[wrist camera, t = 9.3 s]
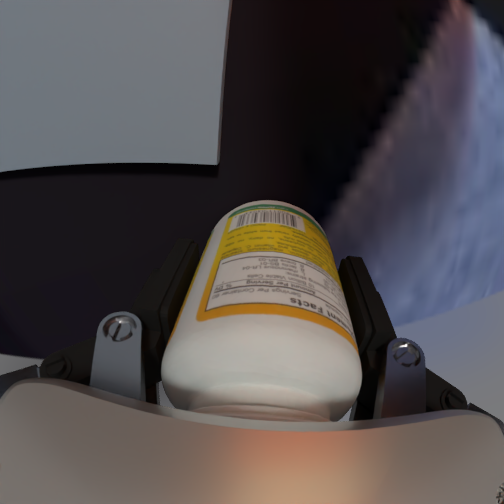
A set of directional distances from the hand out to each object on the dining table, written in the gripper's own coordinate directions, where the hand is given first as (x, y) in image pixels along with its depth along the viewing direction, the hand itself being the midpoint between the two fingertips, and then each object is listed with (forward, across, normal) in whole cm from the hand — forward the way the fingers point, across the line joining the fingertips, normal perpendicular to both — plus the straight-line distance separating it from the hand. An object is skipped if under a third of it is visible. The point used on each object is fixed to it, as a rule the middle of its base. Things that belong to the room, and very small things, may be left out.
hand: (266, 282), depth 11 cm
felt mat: (+2, +10, -10) cm, 14 cm away
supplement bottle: (+2, 0, 0) cm, 2 cm away
